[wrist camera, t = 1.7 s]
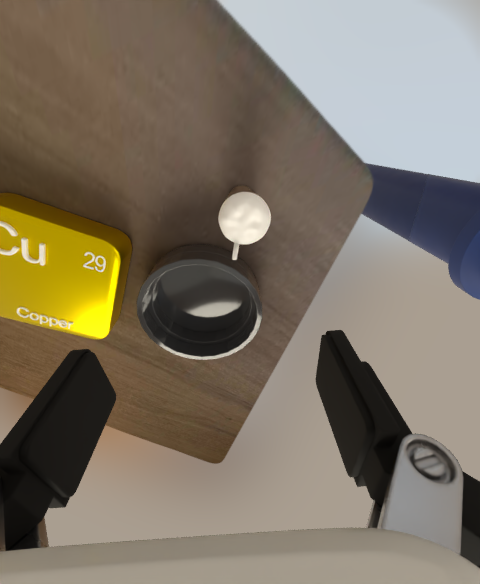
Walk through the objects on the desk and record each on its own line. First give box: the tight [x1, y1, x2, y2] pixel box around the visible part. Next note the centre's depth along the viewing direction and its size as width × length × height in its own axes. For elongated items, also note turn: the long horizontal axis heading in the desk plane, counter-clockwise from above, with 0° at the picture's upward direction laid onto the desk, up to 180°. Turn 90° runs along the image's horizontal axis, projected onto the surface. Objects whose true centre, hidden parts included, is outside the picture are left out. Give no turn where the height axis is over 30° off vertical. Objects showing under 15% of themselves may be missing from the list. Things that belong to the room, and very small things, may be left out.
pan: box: [137, 244, 262, 360], centre depth 33 cm, size 15×15×5 cm
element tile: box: [0, 193, 132, 339], centre depth 30 cm, size 15×15×5 cm
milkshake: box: [218, 186, 271, 260], centre depth 24 cm, size 4×5×10 cm
